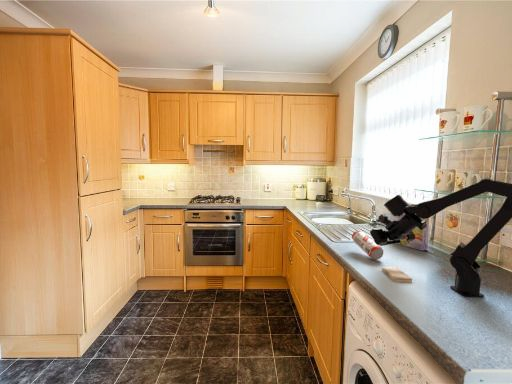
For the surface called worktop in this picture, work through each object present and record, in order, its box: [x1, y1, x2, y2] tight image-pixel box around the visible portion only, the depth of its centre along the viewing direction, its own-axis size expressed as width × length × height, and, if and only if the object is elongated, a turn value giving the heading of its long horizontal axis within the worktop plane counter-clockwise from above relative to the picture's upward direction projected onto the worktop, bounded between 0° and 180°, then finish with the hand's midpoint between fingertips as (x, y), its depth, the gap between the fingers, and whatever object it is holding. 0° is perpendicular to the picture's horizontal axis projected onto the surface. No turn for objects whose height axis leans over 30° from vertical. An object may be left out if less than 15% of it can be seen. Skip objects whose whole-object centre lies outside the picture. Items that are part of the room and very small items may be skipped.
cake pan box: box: [390, 212, 430, 251], centre depth 135 cm, size 19×5×18 cm, turn 23°
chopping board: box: [381, 266, 413, 283], centre depth 99 cm, size 10×6×1 cm, turn 179°
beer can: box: [351, 230, 384, 261], centre depth 120 cm, size 6×6×16 cm
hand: (380, 244), depth 111 cm, fingers closed
